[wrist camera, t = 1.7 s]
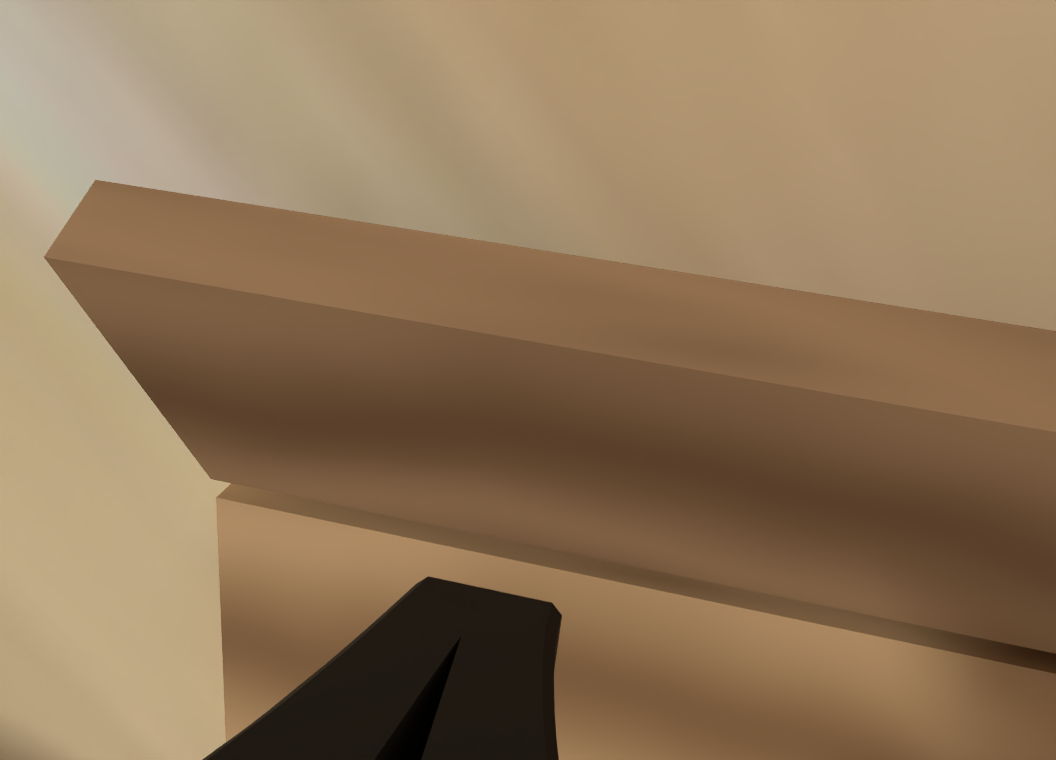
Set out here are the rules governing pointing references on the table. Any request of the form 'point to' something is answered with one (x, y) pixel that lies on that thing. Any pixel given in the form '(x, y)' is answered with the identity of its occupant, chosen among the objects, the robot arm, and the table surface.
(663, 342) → the loose plank
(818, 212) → the table surface
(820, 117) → the table surface
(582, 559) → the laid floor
